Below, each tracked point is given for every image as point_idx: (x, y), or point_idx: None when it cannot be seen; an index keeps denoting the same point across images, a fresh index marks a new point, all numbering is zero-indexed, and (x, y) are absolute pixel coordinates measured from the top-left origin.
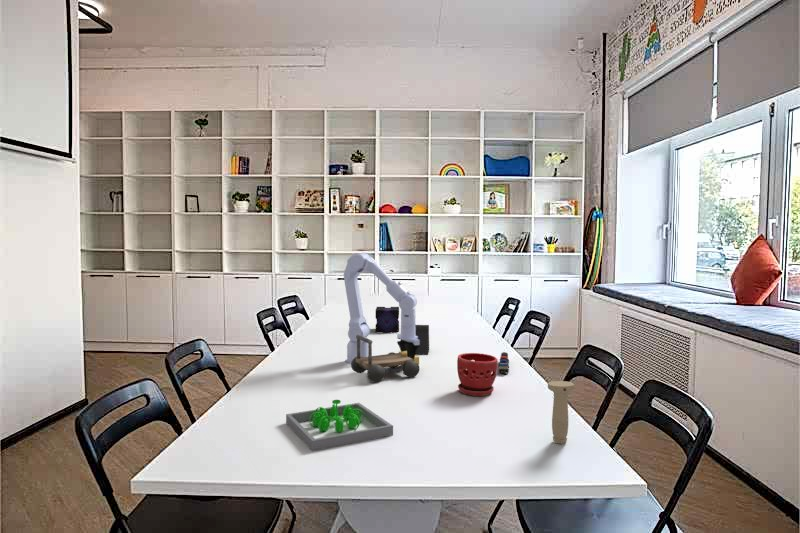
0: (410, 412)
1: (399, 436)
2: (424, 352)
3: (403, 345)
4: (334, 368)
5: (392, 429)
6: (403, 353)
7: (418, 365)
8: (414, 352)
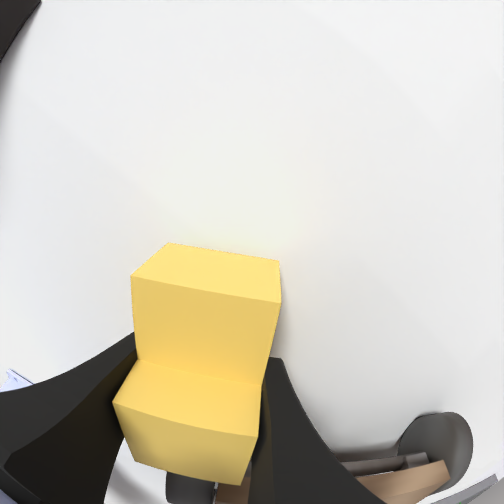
0: (500, 458)
1: (501, 469)
2: (17, 16)
3: (93, 483)
4: (118, 479)
5: (496, 478)
6: (227, 481)
7: (471, 441)
8: (301, 442)
